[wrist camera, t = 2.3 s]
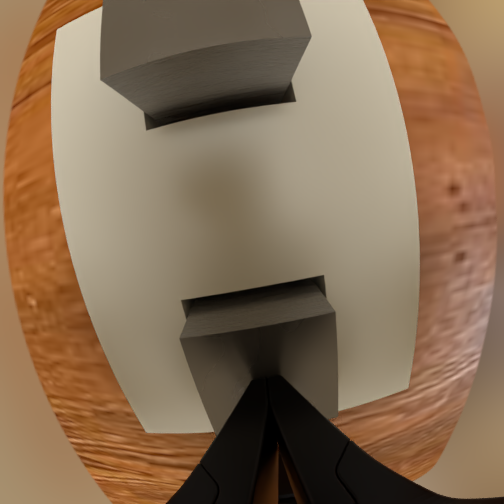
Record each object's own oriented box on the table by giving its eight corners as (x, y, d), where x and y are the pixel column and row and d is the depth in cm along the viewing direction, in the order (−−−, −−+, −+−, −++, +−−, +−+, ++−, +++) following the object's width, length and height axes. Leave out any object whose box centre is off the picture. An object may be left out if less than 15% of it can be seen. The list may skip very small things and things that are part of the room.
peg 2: (308, 343, 12) (337, 416, 8) (224, 357, 12) (216, 436, 8) (298, 261, 12) (335, 311, 7) (204, 278, 12) (179, 338, 7)
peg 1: (279, 106, 9) (312, 36, 4) (165, 128, 9) (100, 80, 4) (258, 20, 8) (268, -68, 3) (155, 40, 8) (108, -35, 3)
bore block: (368, 337, 15) (408, 388, 10) (167, 372, 15) (146, 432, 10) (320, 25, 11) (348, -28, 6) (103, 66, 11) (57, 29, 6)
